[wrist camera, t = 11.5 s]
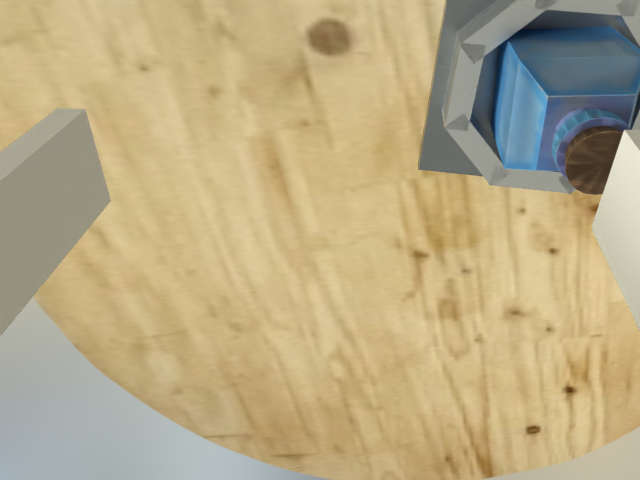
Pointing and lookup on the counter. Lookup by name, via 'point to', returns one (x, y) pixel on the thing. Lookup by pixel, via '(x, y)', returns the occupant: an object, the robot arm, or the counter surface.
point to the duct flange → (480, 80)
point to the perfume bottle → (565, 101)
